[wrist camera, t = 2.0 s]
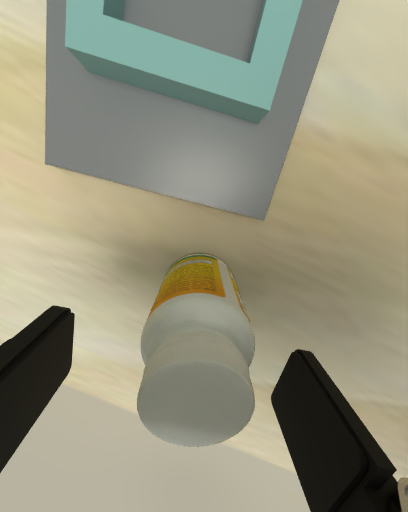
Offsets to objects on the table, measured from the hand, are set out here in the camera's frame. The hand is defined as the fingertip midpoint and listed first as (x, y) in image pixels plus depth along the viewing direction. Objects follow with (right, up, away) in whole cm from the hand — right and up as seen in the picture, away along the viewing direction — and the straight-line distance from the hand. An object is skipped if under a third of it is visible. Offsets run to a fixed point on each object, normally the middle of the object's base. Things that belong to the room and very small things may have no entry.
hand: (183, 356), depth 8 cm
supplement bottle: (0, +2, +7) cm, 8 cm away
